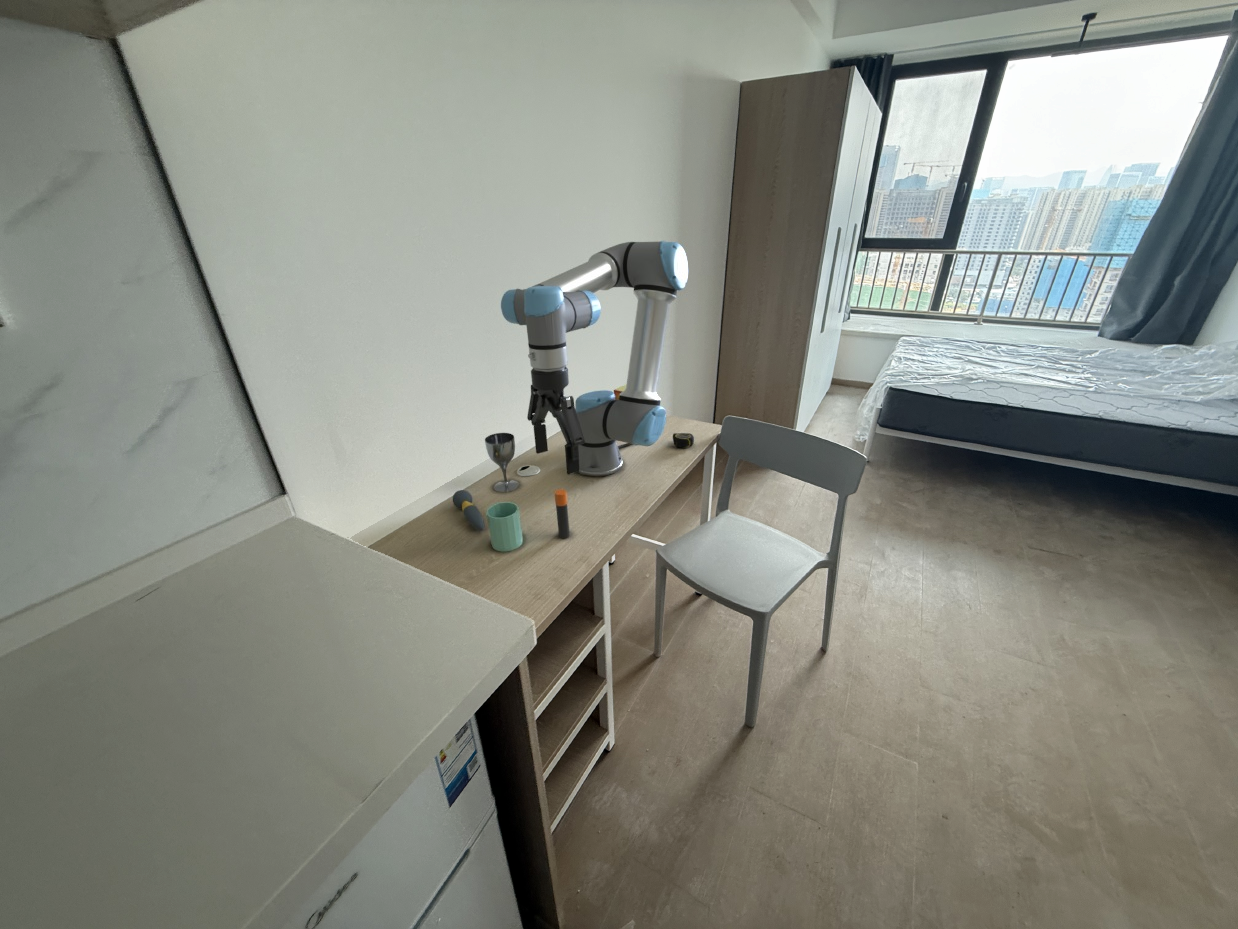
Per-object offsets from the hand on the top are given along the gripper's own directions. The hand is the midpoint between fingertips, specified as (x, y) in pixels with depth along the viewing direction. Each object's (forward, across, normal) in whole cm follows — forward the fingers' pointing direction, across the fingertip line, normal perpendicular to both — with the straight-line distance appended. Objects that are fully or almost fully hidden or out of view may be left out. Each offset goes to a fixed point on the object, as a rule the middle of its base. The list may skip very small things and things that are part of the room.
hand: (556, 461), depth 108 cm
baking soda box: (+19, -43, +54) cm, 72 cm away
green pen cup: (+20, -6, -12) cm, 24 cm away
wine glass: (+20, -32, 0) cm, 38 cm away
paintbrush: (+20, -23, -14) cm, 33 cm away
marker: (+20, 0, 0) cm, 20 cm away
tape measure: (+19, -21, +59) cm, 66 cm away
